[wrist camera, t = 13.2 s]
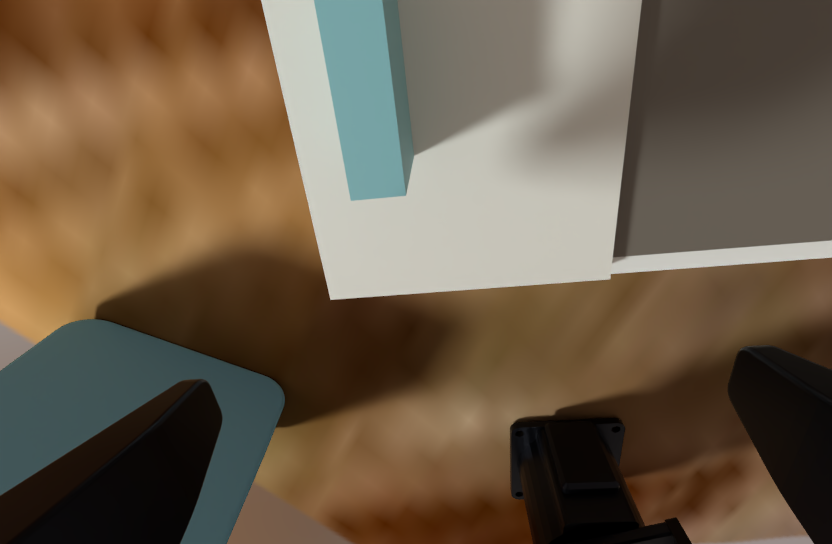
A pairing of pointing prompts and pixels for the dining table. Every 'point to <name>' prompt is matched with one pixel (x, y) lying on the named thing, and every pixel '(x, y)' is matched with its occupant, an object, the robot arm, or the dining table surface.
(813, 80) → the carton
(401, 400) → the dining table surface
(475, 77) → the flap
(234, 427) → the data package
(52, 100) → the dining table surface
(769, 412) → the robot arm
